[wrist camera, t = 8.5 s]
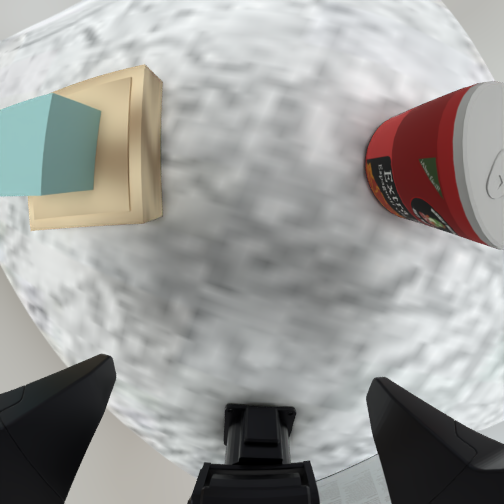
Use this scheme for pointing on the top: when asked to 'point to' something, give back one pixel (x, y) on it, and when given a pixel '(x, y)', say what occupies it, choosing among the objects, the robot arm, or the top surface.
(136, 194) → the bamboo box
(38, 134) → the teal cube
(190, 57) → the top surface
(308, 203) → the top surface
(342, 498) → the skincare box
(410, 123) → the canned food
